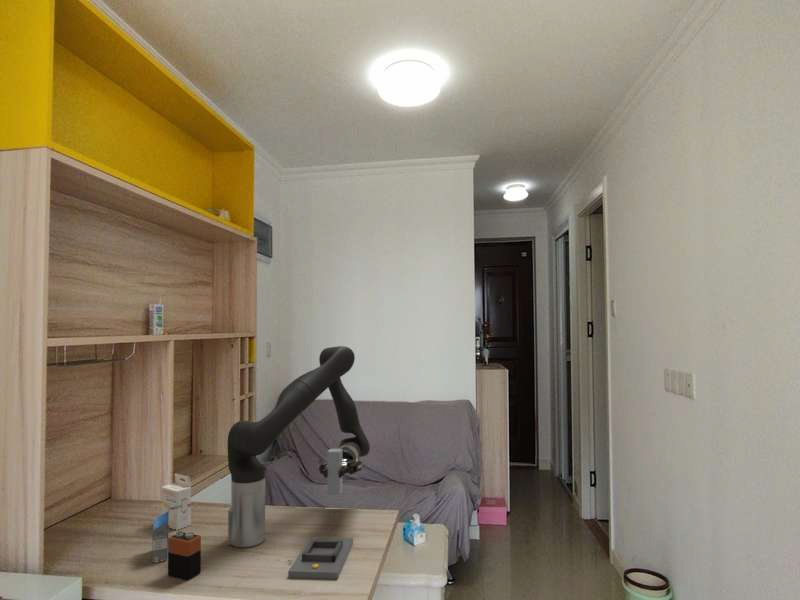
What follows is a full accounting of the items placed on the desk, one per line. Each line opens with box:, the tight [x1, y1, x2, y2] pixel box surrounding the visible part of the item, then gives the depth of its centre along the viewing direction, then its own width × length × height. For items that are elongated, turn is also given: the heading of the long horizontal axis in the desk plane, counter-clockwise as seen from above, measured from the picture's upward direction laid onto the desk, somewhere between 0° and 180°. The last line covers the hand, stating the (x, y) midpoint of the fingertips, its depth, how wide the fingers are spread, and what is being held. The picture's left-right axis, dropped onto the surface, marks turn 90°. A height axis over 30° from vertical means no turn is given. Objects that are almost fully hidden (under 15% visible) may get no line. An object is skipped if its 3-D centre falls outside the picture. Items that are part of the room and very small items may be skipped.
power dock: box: [287, 536, 354, 580], centre depth 130 cm, size 12×20×3 cm, turn 175°
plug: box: [326, 448, 344, 496], centre depth 145 cm, size 4×4×12 cm
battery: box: [167, 530, 202, 581], centre depth 123 cm, size 4×7×10 cm, turn 66°
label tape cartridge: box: [151, 502, 170, 563], centre depth 134 cm, size 9×4×12 cm, turn 23°
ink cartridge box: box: [160, 473, 192, 531], centre depth 155 cm, size 9×5×15 cm, turn 58°
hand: (332, 473), depth 143 cm, fingers closed on plug, 3 cm apart
